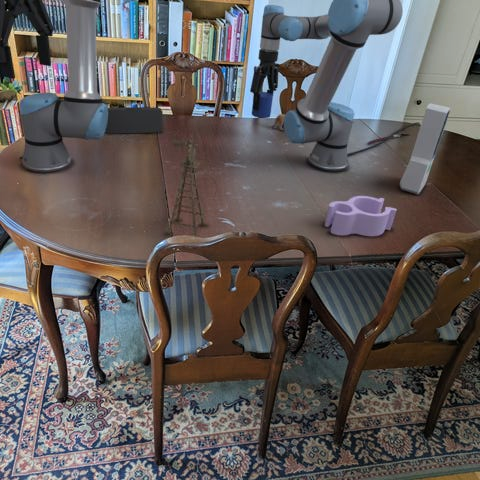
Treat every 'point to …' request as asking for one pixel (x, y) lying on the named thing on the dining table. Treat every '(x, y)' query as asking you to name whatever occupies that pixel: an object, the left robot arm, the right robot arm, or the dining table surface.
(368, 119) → the dining table surface
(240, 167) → the dining table surface
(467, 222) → the dining table surface
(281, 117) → the lion figurine
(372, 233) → the clip
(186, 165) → the miniature windmill
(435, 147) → the electronic device
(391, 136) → the sword
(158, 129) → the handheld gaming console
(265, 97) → the can
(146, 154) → the dining table surface
